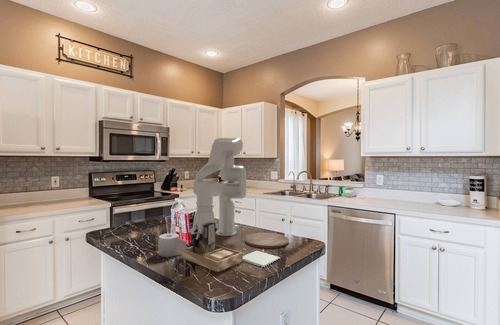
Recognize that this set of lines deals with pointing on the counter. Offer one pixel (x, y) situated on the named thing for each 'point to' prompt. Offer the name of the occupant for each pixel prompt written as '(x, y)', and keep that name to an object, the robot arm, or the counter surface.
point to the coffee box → (206, 240)
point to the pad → (260, 258)
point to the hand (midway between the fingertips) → (204, 244)
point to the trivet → (266, 240)
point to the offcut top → (221, 255)
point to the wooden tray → (210, 263)
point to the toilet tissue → (170, 245)
